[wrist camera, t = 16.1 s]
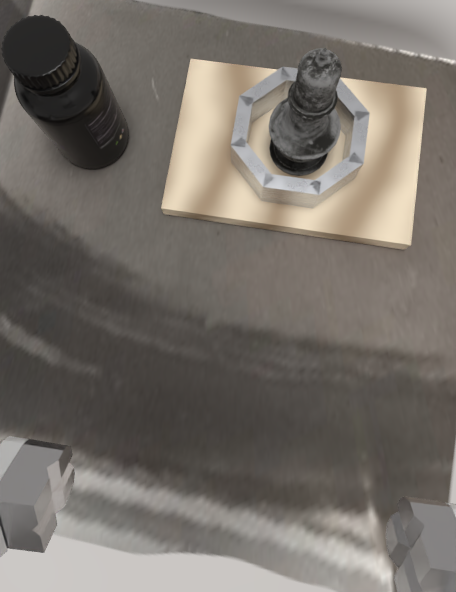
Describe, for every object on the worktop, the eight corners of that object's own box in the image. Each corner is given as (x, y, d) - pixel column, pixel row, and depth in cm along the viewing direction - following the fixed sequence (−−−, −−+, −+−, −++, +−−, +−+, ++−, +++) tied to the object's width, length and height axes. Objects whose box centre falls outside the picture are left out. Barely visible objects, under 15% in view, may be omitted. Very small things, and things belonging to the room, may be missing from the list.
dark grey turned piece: (276, 111, 38) (292, -3, 26) (338, 127, 38) (383, 19, 26) (258, 169, 37) (266, 78, 25) (322, 186, 37) (360, 102, 25)
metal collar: (225, 196, 37) (224, 181, 34) (244, 85, 39) (245, 61, 36) (349, 214, 36) (359, 200, 33) (363, 100, 38) (374, 78, 35)
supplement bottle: (48, 158, 40) (-33, 71, 28) (77, 97, 41) (10, -13, 29) (114, 181, 39) (59, 102, 27) (141, 118, 40) (100, 15, 28)
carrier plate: (164, 214, 38) (161, 208, 37) (192, 69, 41) (190, 58, 39) (404, 249, 37) (410, 244, 36) (419, 98, 39) (426, 88, 38)
